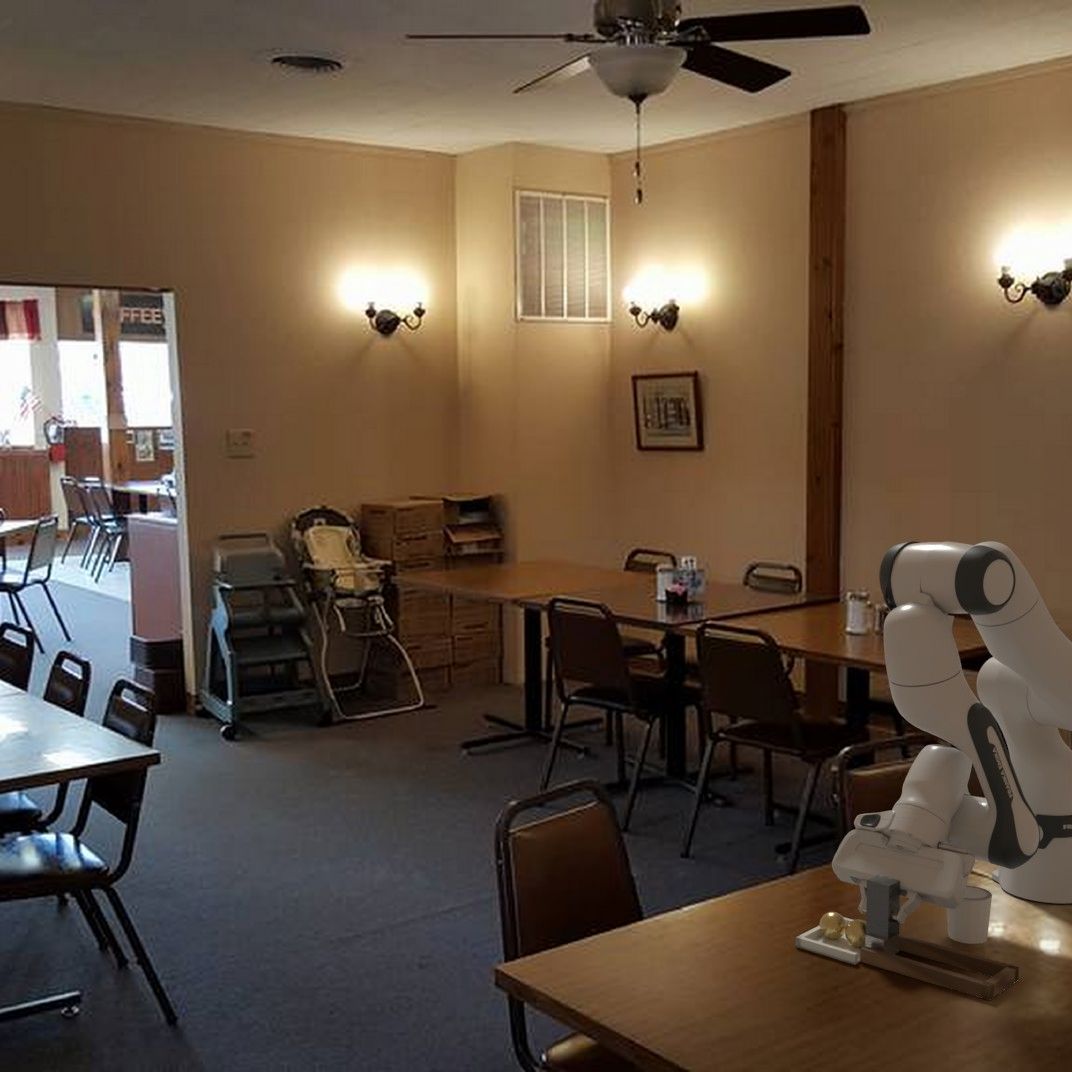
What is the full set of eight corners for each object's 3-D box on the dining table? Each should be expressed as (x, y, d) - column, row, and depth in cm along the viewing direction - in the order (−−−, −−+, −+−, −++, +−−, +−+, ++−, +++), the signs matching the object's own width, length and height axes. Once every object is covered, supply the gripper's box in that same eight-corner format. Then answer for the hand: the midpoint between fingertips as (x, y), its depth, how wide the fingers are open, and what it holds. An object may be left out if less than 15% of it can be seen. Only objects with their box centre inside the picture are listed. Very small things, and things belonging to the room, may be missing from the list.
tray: (838, 925, 205) (838, 915, 205) (896, 941, 198) (896, 931, 198) (795, 946, 197) (795, 937, 197) (854, 964, 190) (854, 954, 190)
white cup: (994, 946, 196) (995, 901, 195) (946, 944, 197) (947, 898, 196) (988, 929, 202) (989, 885, 202) (942, 927, 204) (942, 883, 203)
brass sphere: (870, 948, 197) (850, 929, 199) (882, 929, 195) (861, 910, 197) (855, 956, 194) (835, 937, 196) (867, 937, 192) (846, 918, 194)
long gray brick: (879, 945, 196) (880, 873, 195) (901, 952, 193) (902, 879, 193) (863, 954, 193) (864, 881, 192) (885, 961, 190) (886, 887, 189)
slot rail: (891, 944, 197) (891, 931, 197) (1018, 980, 183) (1018, 966, 183) (860, 961, 191) (860, 948, 191) (989, 1000, 177) (989, 986, 177)
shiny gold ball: (846, 940, 200) (825, 924, 202) (855, 919, 198) (834, 903, 201) (832, 947, 197) (811, 931, 199) (840, 926, 196) (819, 910, 198)
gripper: (985, 862, 193) (953, 946, 187) (862, 835, 207) (828, 911, 201) (972, 839, 190) (938, 923, 183) (847, 813, 204) (812, 890, 198)
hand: (880, 917), depth 192 cm, fingers open, 4 cm apart
